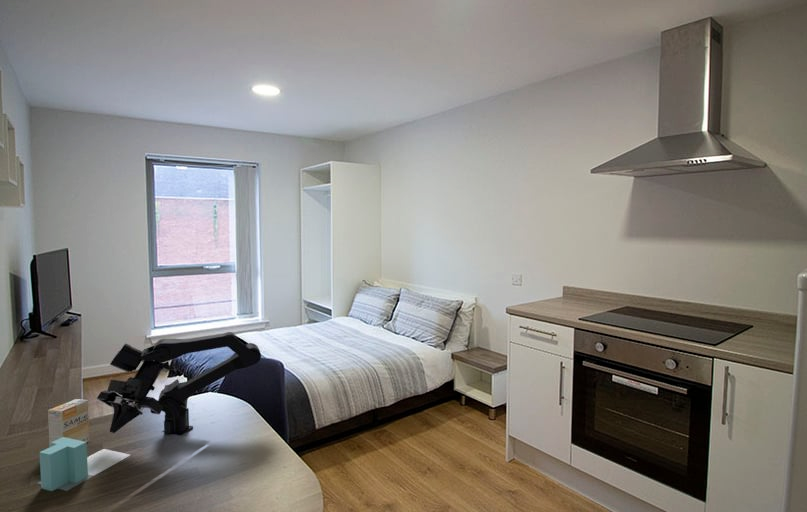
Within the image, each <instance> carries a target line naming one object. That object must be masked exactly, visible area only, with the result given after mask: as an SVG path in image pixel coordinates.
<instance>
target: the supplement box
mask: <svg viewBox="0 0 807 512" xmlns="http://www.w3.org/2000/svg"><path fill="white" fill-rule="evenodd" d="M47 414H48V415H47V416H48V417H47V418H48V420H47V421H48V442H49V443H48V444H49V448H50V447H51V442H53V441H55V440H58V439H60V438H62V437H66V438H70V439H75V440H80V441H84V442H87V443H88V442H90V423H89V419H90V418H89V400H88V399H82V398H81V399H79V398H74V399H73V400H69V401H67V402H65V403H62V404H59V405H57V406H55V407H52V408H49V409H48V410H47Z"/></svg>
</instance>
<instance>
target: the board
mask: <svg viewBox="0 0 807 512" xmlns="http://www.w3.org/2000/svg"><path fill="white" fill-rule="evenodd" d="M130 456H131V454H128V453H124V452H121V451H114V450H112V449H107V448H103V449H100V450H99V451H97V452H95V453H92V454H91V455H89V456H87V464H88V477H87V478H85V479H83V480H81V481H80V482H78V483H72V482H68V483H66V484H64V485H62V486H61V487H59V488H57V490H62V491H64V492H65V491H66V492H68V491H69V490H72V489H73V488H75V487H76V486H78V485H80V484H82V483H84V482H85V481H87V480H89V479H91V478H93V477H94V476H96V475H98V474H99V473H101V472H103V471H105V470H107V469H108V468H110V467H112V466H114V465H116V464H118V463H119V462H121V461H123V460H125V459H126V458H128V457H130ZM37 484H40V485H41V480H40V481H39V482H37Z"/></svg>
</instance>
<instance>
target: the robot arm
mask: <svg viewBox="0 0 807 512" xmlns="http://www.w3.org/2000/svg"><path fill="white" fill-rule="evenodd" d="M221 348H229V349H230V350H231V351H232V352H234V353H233V354H232V355H231V356H230V357H229V358H227V359H225V360H224V361H221V362H220V363H218V364H216V365H215V366H212V367H210V368H209V369H207V370H205V371H203V372H201V373H199V374H198V375H196V376H194V377H192V378H190V379H188V380H187V381H183V382H180V381H179V379H176V380H174V381H173V382H171V383H170V384H165V385H164V388H162V390H160V392H159V397H158V398H157V399H156V398H154V397H152V396H151V397H150V396H148V394H149V393H150V391H153V392H154V391H155V389H156V387H155V386H154V385H155V383H156V381H157V379H158V378H159V376H160V374H161V372H165V373H168V372H170V371H171V367H170V364H169V363H170V362H169V361H172V360H176V359H178V358H180V357H182V356H184V355H187V354H191V353H192V354H193V353H199V352H204V351H209V350H215V349H216V350H217V349H221ZM261 358H262V354H261V351H260V348H259V346H258V345H257V344H255V343H252V342H248V341H246V340H245V339H243V338H241V337H239V336H237V335H236V334H235V333H234V332H231V331H227V332H225V333H217V334H213V335H207V336H200V337H194V338H187V339H183V338H161V339H159V340H158V341H156V342H155V344H154V345H152V346H148V347H146V348H144V349H143V350H140V349H138V348H135V347H134V346H132V345H130V344H128V343H124V345H123V346H122V347H121V349H120V350H118V352H117V353H116V354H115V355H114V357H113V359H112V360H111V362H110V363H109V365H110V366H112V367H115V368H117V369H120V370H122V371H124V372H126V373H130V372H131V373H132V372H135V371H136V370H137V368H139V369H138V370H137V371H136V373H135V374H134V376H132V377H131V376H129V378H127V380H118V379H110V381H109V383H108V387H107V390H102V391H100V393H99V394H98V396H97V397H96V399H97V400H98V401H100V402H102V403H103V404H105V405H106V406H108V407H111V408H113V416H112V420H111V423H110V428H109V432H110V433H113V434H116V433H117V432H118V431H119V430H120V429H122V428H123V427H124V426H126V425H127V424H128V423H129V422H131V421H133V420H134V419H135V418H137V417H138V416H140V415H143V414H144V413H143V410H144V409H150V413H151V414H153V415H160V414H161V413H162V412H163V413H164V420H163V428H164V429H163V431H161V432H162V433H164V435H168V436H172V435H176V436H182V435H184V434H185V433H187V432H189V431H191V430H192V429H194V426H193V425H190V416H189V415H190V413H189V408H188V400H189V398H190V397H191V396H192V395H193V394H195V393H197V392H199V391H200V390H203V389H205V388H207V387H208V386H210V385H212V384H214V383H216V382H217V381H219V380H220V379H222V378H224V377H226V376H228V375H229V374H231V373H234V372H235V371H239V370H243V369H248V368H250V367H253V366H255V365H257V364H259V362H260V361H261ZM141 363H142V364H141ZM140 364H141V365H140Z"/></svg>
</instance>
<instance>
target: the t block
mask: <svg viewBox="0 0 807 512" xmlns="http://www.w3.org/2000/svg"><path fill="white" fill-rule="evenodd" d="M87 443H88V442H84V441H80V440H75V439H70V438H66V437H62V438H60V439H58V440H55V441H53V442H51V447H50V446H49V447H47V448H45V449H44V450H41V451H39V467H40V468H39V470H40V481H41V484H40V486H41V487H40V488H41V489H42V490H46V491H50V492H53V491H55V490H58V488H59V487H61V486H62V485H64V484H66V483H68V482H72V483H78V482H80V481H81V480H83V479H85V478H87V477H88V464H87V457H88V449H87V448H88V446H87V445H88V444H87Z"/></svg>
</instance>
